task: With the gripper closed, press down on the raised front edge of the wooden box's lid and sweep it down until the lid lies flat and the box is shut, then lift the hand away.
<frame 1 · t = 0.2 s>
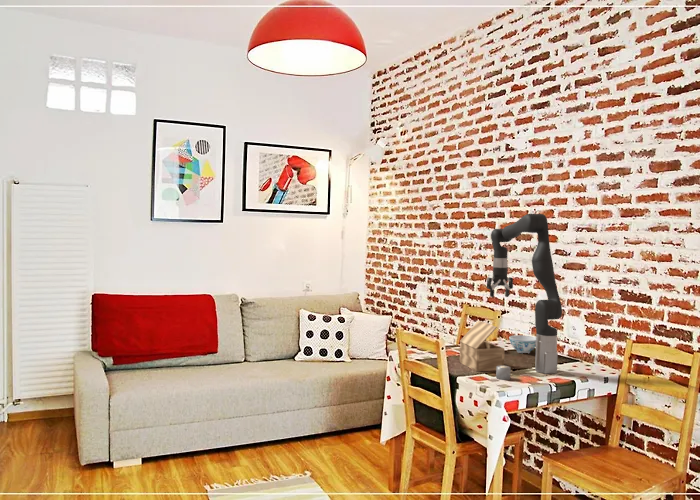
hand: (499, 297, 321), 29 cm above the table, tool pointing down, fingers open, 8 cm apart
chinaware: (523, 352, 322), on the table
disposable coffee cup: (478, 350, 324), on the table
grey rounded block: (503, 378, 266), on the table
wooden box: (481, 366, 288), on the table
box lid: (477, 334, 287), point 15 cm above the table, hinge at 45.0°
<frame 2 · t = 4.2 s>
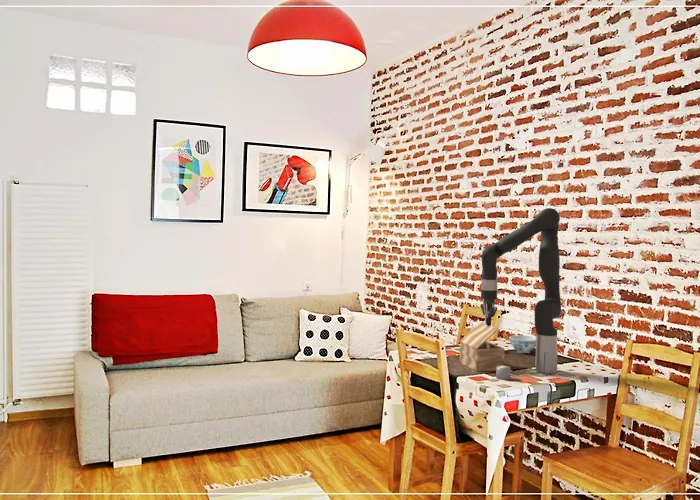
hand: (488, 325, 288), 20 cm above the table, tool pointing down, fingers closed
box lid: (478, 335, 287), point 15 cm above the table, hinge at 40.4°, touching gripper
everything else where it was.
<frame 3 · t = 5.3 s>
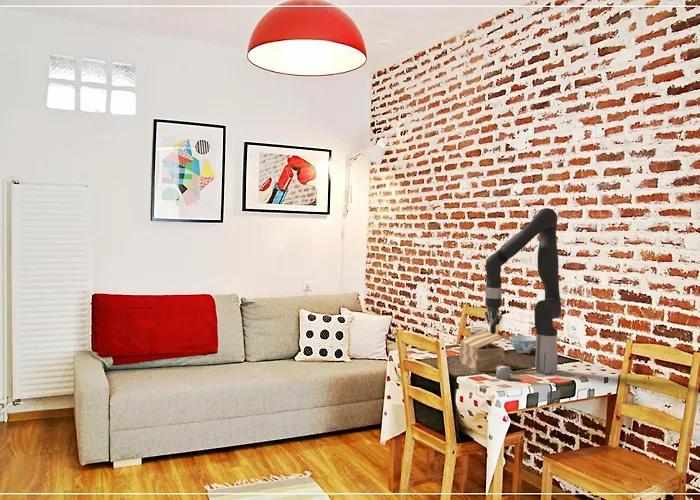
hand: (492, 332, 289), 16 cm above the table, tool pointing down, fingers closed
box lid: (480, 339, 287), point 13 cm above the table, hinge at 21.6°, touching gripper
everything else where it was.
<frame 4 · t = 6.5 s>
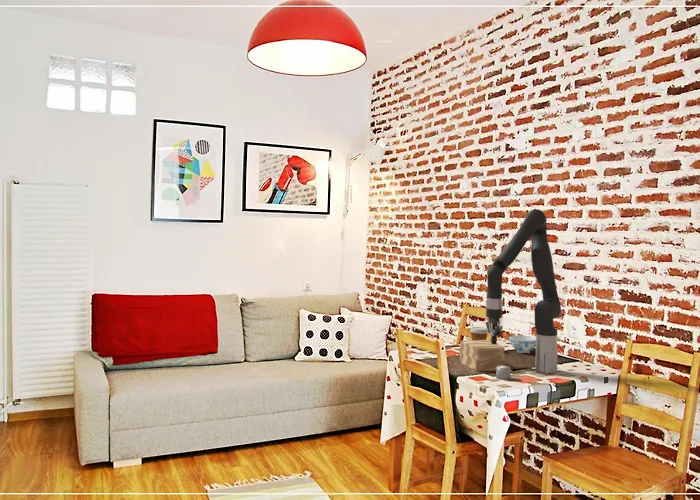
hand: (493, 343, 289), 11 cm above the table, tool pointing down, fingers closed
box lid: (481, 344, 288), point 10 cm above the table, hinge at -0.2°, touching gripper, wooden box
everything else where it was.
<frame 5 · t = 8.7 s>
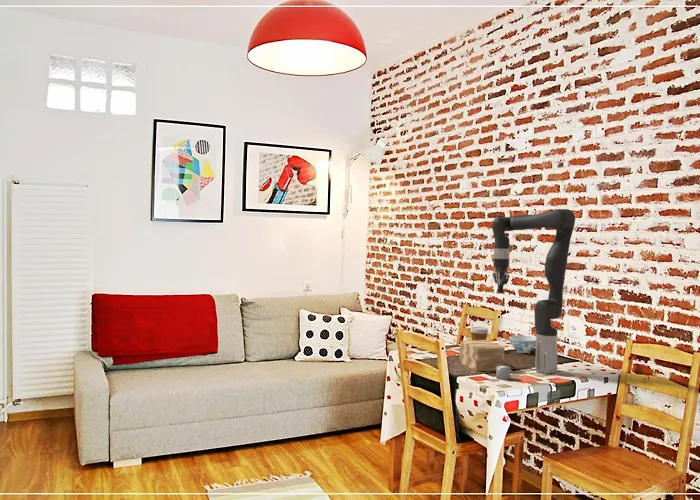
hand: (500, 292, 297), 34 cm above the table, tool pointing down, fingers closed
box lid: (481, 344, 288), point 10 cm above the table, hinge at -0.2°, touching wooden box
everything else where it was.
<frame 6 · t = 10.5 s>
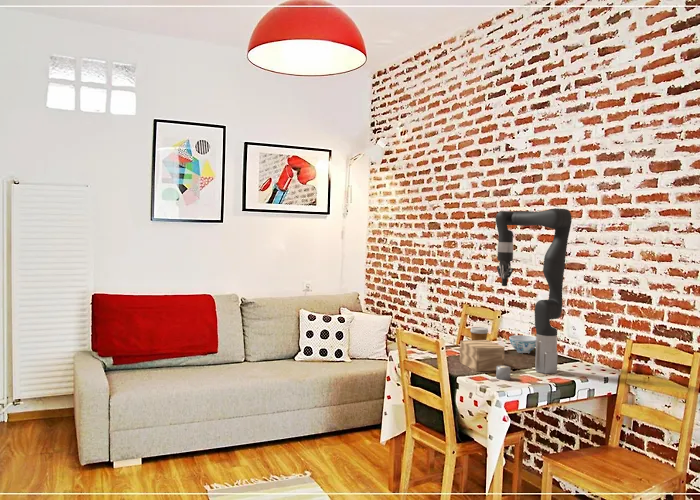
hand: (504, 285, 301), 37 cm above the table, tool pointing down, fingers closed
nothing on the table moved.
at the end: box lid at +0° (first picture: +45°); grey rounded block moved 0.0 cm from its start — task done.
